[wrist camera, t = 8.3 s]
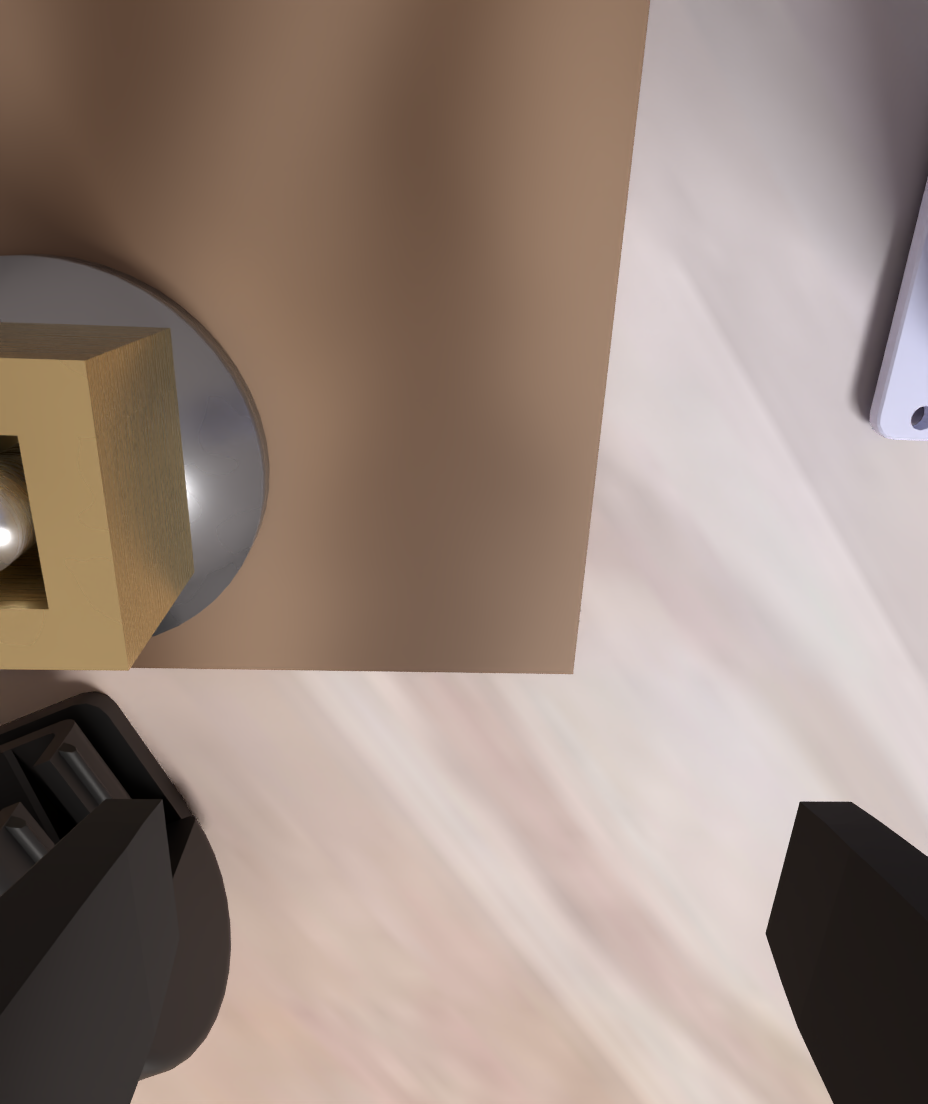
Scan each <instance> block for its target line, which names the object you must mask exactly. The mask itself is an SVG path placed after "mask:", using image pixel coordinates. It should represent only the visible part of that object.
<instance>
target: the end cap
mask: <svg viewBox="0 0 928 1104" xmlns="http://www.w3.org/2000/svg"><path fill="white" fill-rule="evenodd" d="M105 799H163V807H164V815H165V823H166V831H167V839H168V847H169V855H170V863H171V871H172V879H173V887H174V895H175V903H176V911H177V919H178V927H179V935H180V939H179V943H178V947H177V951H176V955H175V959H174V963H173V967H172V971H171V975H170V979H169V984H168V988H167V992H166V995H165V999H164V1003H163V1007H162V1010H161V1014H160V1018H159V1022H158V1026H157V1029H156V1033H155V1037H154V1039H153V1042H152V1045H151V1048H150V1051H149V1053H148V1056H147V1059H146V1062H145V1065H144V1067H143V1070H142V1073H141V1075H140V1078H139V1080H142V1079H145V1078H148V1077H151V1076H154V1075H157V1074H160V1073H163V1072H166V1071H169V1070H171V1069H173V1068H175V1067H176V1066H178V1065H179V1064H180V1063H182V1062H183V1061H185V1060H186V1059H188V1058H189V1057H190V1056H191V1055H192V1054H193V1053H194V1052H195V1051H196V1049H197V1048H198V1047H199V1046H200V1045H201V1043H202V1042H203V1041H204V1040H205V1039H206V1037H207V1035H208V1033H209V1032H210V1030H211V1028H212V1026H213V1024H214V1022H215V1020H216V1018H217V1016H218V1013H219V1010H220V1007H221V1004H222V1001H223V998H224V995H225V990H226V985H227V980H228V974H229V966H230V952H231V934H230V918H229V910H228V902H227V896H226V892H225V888H224V883H223V879H222V875H221V872H220V869H219V866H218V863H217V860H216V857H215V854H214V852H213V850H212V848H211V845H210V843H209V841H208V839H207V837H206V834H205V833H204V831H203V830H202V828H201V826H200V825H199V823H198V821H197V820H196V818H195V817H194V816H192V815H191V813H190V811H189V809H188V807H187V805H186V803H185V801H184V799H183V798H182V796H181V795H180V793H179V792H178V791H177V789H176V788H175V786H174V785H173V783H172V782H171V781H170V779H169V778H168V776H167V775H166V773H165V772H164V771H163V769H162V768H161V766H160V765H159V764H158V762H157V761H156V759H155V758H154V756H153V755H152V754H151V752H150V751H149V749H148V748H147V746H146V745H145V744H144V742H143V741H142V739H141V738H140V736H139V735H138V734H137V732H136V731H135V729H134V728H133V726H132V725H131V724H130V722H129V721H128V719H127V718H126V716H125V715H124V714H123V712H122V711H121V709H120V708H119V707H118V705H117V704H116V703H115V702H114V701H113V700H112V699H111V698H110V697H108V696H107V695H104V694H101V693H98V692H88V693H82V694H79V695H77V696H74V697H72V698H69V699H67V700H64V701H62V702H60V703H57V704H55V705H52V706H50V707H47V708H45V709H42V710H40V711H37V712H35V713H32V714H30V715H27V716H25V717H22V718H20V719H17V720H15V721H12V722H10V723H7V724H5V725H2V726H0V896H1V895H2V894H3V893H4V892H5V891H6V890H8V889H9V888H10V887H11V886H12V885H13V884H14V883H15V882H16V881H17V880H18V879H19V878H21V877H22V876H23V875H24V874H25V873H26V872H27V871H28V870H29V869H30V868H31V867H32V866H33V865H34V864H36V863H37V862H38V861H39V860H40V859H41V858H42V857H43V856H44V855H45V854H46V853H47V852H48V851H49V850H51V849H52V848H53V847H54V846H55V845H56V844H57V843H58V842H59V841H60V840H61V839H62V838H63V837H64V836H66V835H67V834H68V833H69V832H70V831H71V830H72V829H73V828H74V827H75V826H76V825H77V824H78V823H80V822H81V821H82V820H83V819H84V818H85V817H86V816H87V815H88V814H90V813H91V812H92V811H93V810H94V809H95V808H96V807H97V806H99V805H100V804H101V803H102V802H103V801H104V800H105Z"/></svg>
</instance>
